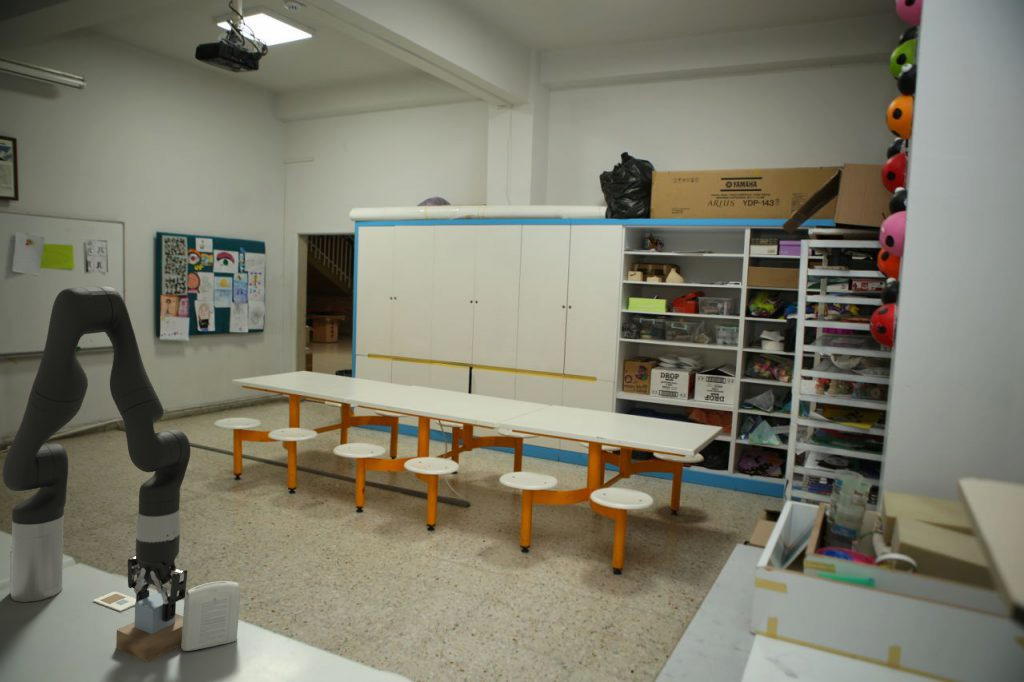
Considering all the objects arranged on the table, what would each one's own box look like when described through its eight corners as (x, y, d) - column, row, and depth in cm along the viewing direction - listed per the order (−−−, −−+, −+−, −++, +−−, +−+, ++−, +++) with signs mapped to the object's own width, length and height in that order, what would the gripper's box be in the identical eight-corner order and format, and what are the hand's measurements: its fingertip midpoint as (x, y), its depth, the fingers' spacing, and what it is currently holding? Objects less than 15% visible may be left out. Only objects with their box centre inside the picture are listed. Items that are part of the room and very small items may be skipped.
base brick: (116, 649, 125) (116, 629, 124) (163, 627, 134) (164, 608, 133) (146, 663, 121) (147, 643, 120) (193, 639, 130) (194, 620, 129)
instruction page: (92, 601, 141) (92, 599, 141) (114, 592, 146) (114, 590, 146) (120, 611, 138) (120, 610, 138) (142, 602, 142) (142, 600, 142)
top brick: (134, 627, 126) (135, 602, 125) (157, 616, 130) (158, 592, 130) (152, 634, 124) (152, 609, 123) (175, 622, 128) (175, 598, 128)
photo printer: (235, 632, 133) (238, 574, 132) (239, 642, 129) (243, 582, 128) (179, 643, 127) (182, 583, 126) (182, 654, 123) (186, 592, 123)
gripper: (115, 531, 125) (112, 613, 126) (167, 547, 119) (164, 633, 120) (150, 519, 132) (147, 598, 133) (201, 534, 126) (197, 616, 127)
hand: (155, 614), depth 127 cm, fingers open, 6 cm apart
